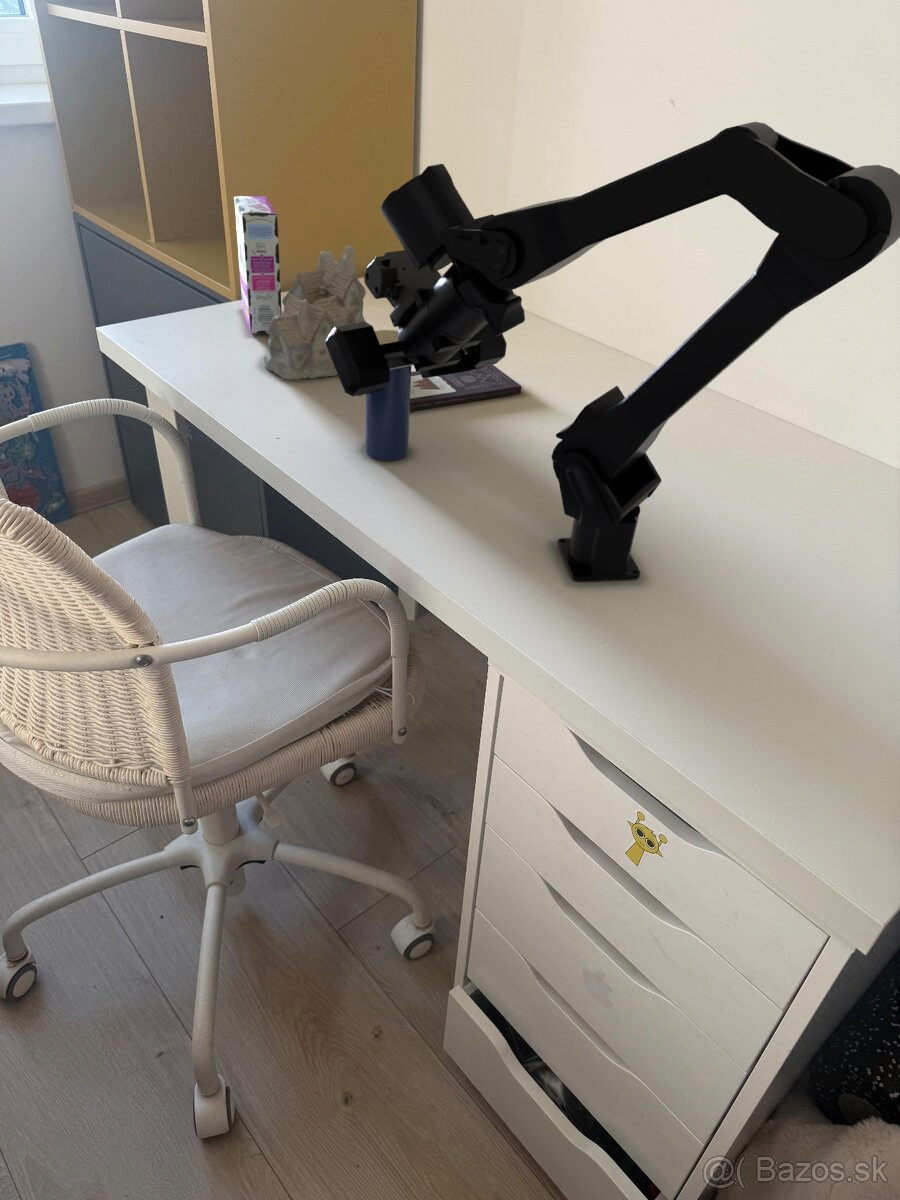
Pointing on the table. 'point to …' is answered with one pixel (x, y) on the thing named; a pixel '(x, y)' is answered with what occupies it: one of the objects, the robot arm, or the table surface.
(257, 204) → the candy bar box
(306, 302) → the ceramic cottage
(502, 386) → the chocolate bar
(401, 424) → the blue canister
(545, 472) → the table surface
